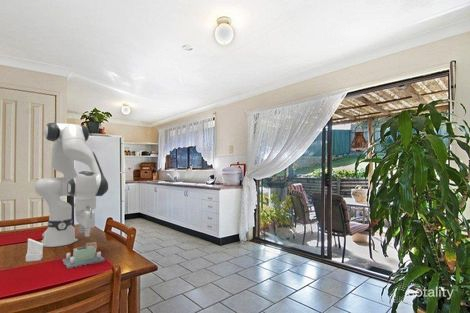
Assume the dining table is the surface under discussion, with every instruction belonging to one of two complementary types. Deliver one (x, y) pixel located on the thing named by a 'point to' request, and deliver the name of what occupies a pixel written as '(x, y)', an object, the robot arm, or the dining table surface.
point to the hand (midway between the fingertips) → (84, 234)
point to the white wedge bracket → (34, 251)
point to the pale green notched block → (84, 253)
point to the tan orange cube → (92, 244)
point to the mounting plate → (71, 263)
